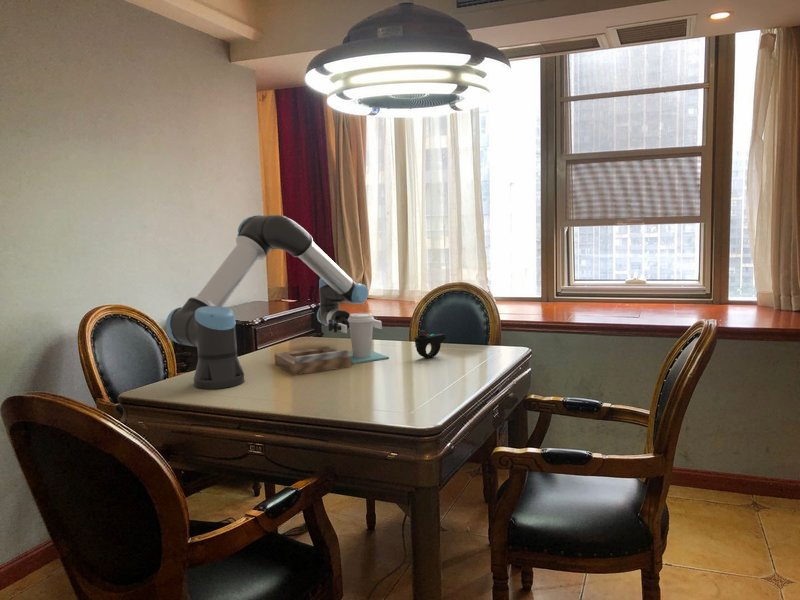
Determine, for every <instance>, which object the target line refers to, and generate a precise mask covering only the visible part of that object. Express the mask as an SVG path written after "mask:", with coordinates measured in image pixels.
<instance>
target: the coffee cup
mask: <svg viewBox="0 0 800 600" xmlns="http://www.w3.org/2000/svg"><path fill="white" fill-rule="evenodd" d="M374 317H375V316H373V313H370V312H369V313H368V312H357V313H356V312H355V313H350V316H349V318H348V322H349V327H350V328H349V333H350V340H351V341H350V342H351V349H352V353H353V357H355V358H367V357H370V356H371V351H373V350H372V348H373V347H372V346H373V345H372V344H373V331H374V330H373V328H374V327H373V321H374Z"/></svg>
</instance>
